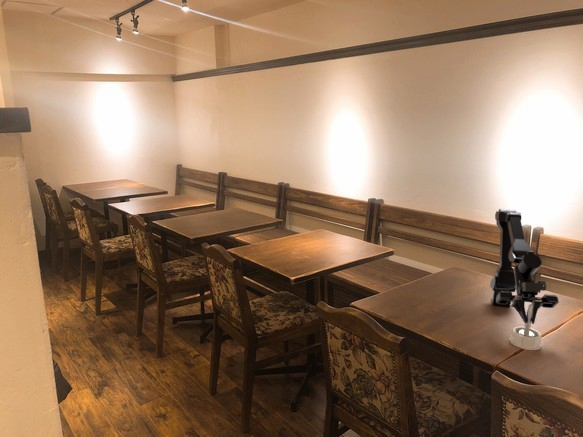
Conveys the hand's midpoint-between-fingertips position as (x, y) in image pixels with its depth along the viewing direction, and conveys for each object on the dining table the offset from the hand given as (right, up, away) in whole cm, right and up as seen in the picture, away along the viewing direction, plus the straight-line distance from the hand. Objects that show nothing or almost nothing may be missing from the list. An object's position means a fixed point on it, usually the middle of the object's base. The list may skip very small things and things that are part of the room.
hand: (529, 323), depth 158 cm
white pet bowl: (0, -7, +3) cm, 8 cm away
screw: (0, -6, +3) cm, 7 cm away
